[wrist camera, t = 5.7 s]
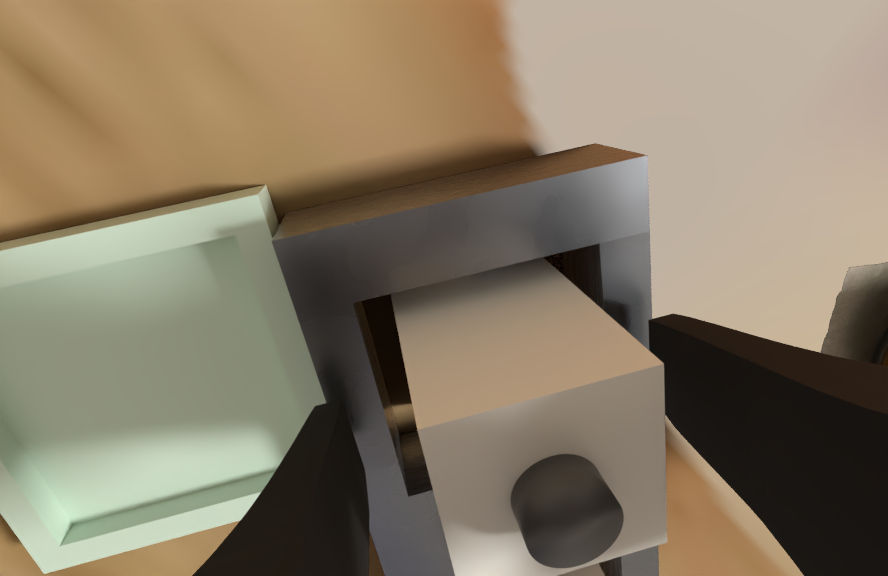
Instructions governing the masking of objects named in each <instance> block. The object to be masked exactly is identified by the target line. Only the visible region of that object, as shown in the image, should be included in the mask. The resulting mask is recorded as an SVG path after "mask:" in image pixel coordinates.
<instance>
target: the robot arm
mask: <svg viewBox="0 0 888 576" xmlns="http://www.w3.org/2000/svg"><path fill="white" fill-rule="evenodd" d="M648 325H649V351H650V352H651V353H652V354H654V355H655V356H656V357H657V358H658V359H659V360H660V361H662V362H663V363H664V390H665V415H666V416H667V417H668V419H669V420H670V421H671V423H672V424H673V425H674V427H675V428H676V429H677V430H678V431H679V432H680V434H681V435H682V436H683V437H684V438H685V439H686V440H687V441H688V442H689V443H690V444H691V445H692V447H693V448H694V449H695V450H696V451H697V452H698V453H699V454H700V455H701V456H702V457H703V458H704V459H705V460H706V461H707V462H708V463H709V465H710V466H711V467H712V468H713V469H714V470H715V471H716V472H717V473H718V474H719V475H720V476H721V477H722V478H723V479H724V480H725V481H726V482H727V483H728V485H729V486H730V487H731V488H732V489H733V490H734V491H735V492H736V493H737V494H738V495H739V496H740V497H741V498H742V499H743V500H744V501H745V503H746V504H747V505H748V506H749V507H750V508H751V509H752V510H753V511H754V513H755V514H756V515H757V516H758V517H759V518H760V519H761V521H762V522H763V523H764V524H765V526H766V527H767V528H768V529H769V531H770V532H771V533H772V534H773V536H774V537H775V538H776V540H777V541H778V542H779V543H780V545H781V546H782V547H783V549H784V550H785V551H786V552H787V554H788V555H789V556H790V558H791V559H792V560H793V561H794V563H795V564H796V565H797V567H798V568H799V569H800V571H801V572H802V573H803V575H804V576H888V366H884V365H879V364H873V363H868V362H862V361H857V360H851V359H846V358H841V357H837V356H832V355H828V354H823V353H819V352H815V351H811V350H807V349H802V348H799V347H794V346H790V345H786V344H783V343H779V342H775V341H771V340H768V339H764V338H761V337H757V336H754V335H750V334H747V333H743V332H740V331H737V330H733V329H730V328H726V327H723V326H719V325H716V324H713V323H709V322H705V321H701V320H698V319H694V318H691V317H686V316H682V315H677V314H670V315H666V316H663V317H659V318H655V319H651V320H648ZM369 515H370V512H369V502H368V492H367V483H366V473H365V468H364V465H363V462H362V459H361V456H360V453H359V450H358V447H357V444H356V440H355V437H354V434H353V431H352V428H351V425H350V422H349V419H348V416H347V413H346V409H345V406H344V403H343V400H342V399H340V400H337V401H333V402H329V403H325V404H321V405H317V406H315V407H314V408H313V410H312V411H311V413H310V414H309V416H308V418H307V419H306V421H305V423H304V425H303V426H302V428H301V430H300V432H299V433H298V435H297V437H296V438H295V440H294V442H293V443H292V445H291V447H290V449H289V450H288V452H287V453H286V455H285V457H284V458H283V460H282V461H281V463H280V465H279V466H278V468H277V469H276V471H275V473H274V474H273V476H272V477H271V479H270V480H269V482H268V483H267V485H266V486H265V487H264V489H263V490H262V492H261V493H260V495H259V496H258V497H257V499H256V500H255V502H254V503H253V505H252V506H251V507H250V509H249V510H248V511H247V513H246V514H245V515H244V517H243V518H242V519H241V521H240V522H239V523H238V524H237V526H236V527H235V528H234V529H233V531H232V532H231V533H230V534H229V535H228V536H227V538H226V539H225V540H224V541H223V542H222V544H221V545H220V546H219V547H218V548H217V550H216V551H215V552H214V553H213V554H212V555H211V556H210V557H209V559H208V560H207V561H206V562H205V563H204V564H203V565H202V566H201V567H200V568H199V569H198V570H197V571H196V572H195V573H194V574H193V575H192V576H369Z"/></svg>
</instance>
